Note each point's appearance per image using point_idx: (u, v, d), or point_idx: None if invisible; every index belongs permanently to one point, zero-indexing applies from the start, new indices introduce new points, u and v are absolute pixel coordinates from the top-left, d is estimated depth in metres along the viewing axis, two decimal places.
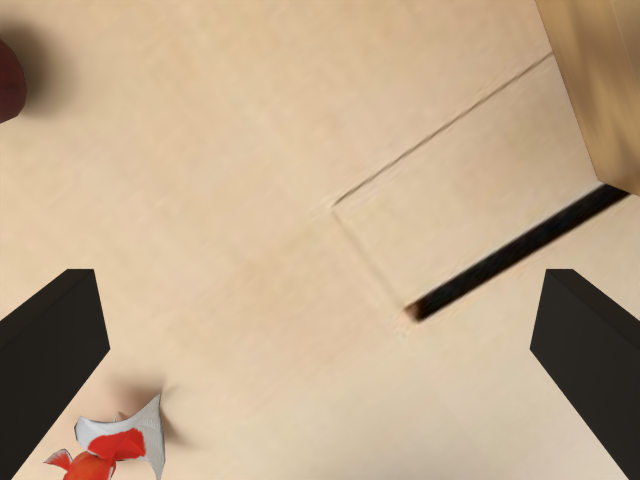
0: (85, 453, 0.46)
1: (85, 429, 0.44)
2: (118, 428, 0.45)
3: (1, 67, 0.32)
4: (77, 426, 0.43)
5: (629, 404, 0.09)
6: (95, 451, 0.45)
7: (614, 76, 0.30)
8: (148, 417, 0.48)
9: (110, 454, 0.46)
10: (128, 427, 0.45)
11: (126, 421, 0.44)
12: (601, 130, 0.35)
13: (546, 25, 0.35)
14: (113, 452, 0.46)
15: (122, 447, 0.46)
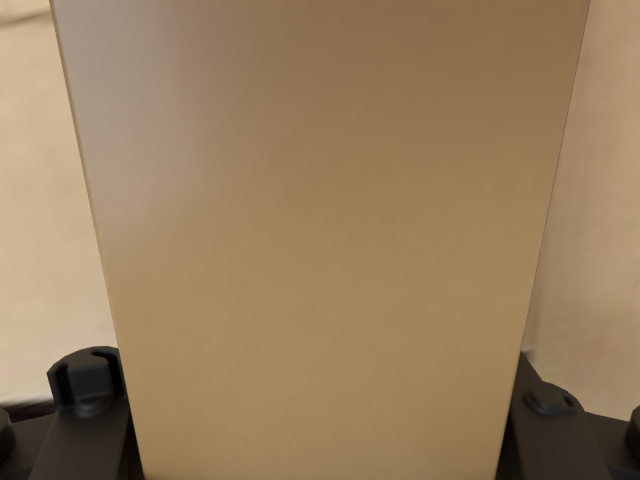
0: None
1: None
2: None
3: None
4: None
5: None
6: None
7: None
8: None
9: None
10: None
11: None
12: None
13: None
14: None
15: None
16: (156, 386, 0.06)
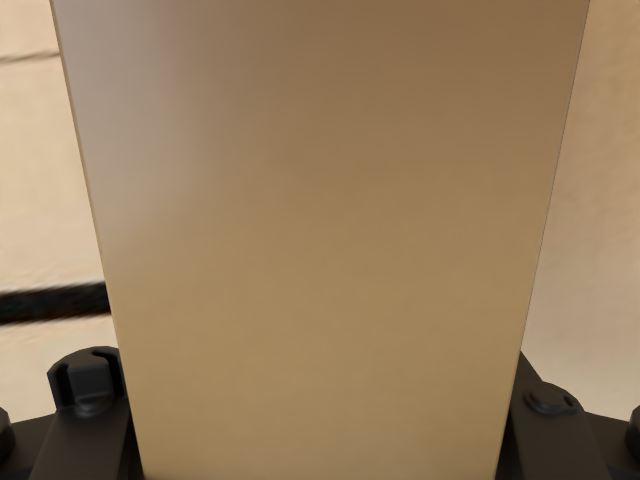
0: None
1: None
2: None
3: None
4: None
5: None
6: None
7: None
8: None
9: None
10: None
11: None
12: None
13: None
14: None
15: None
16: (156, 385, 0.06)
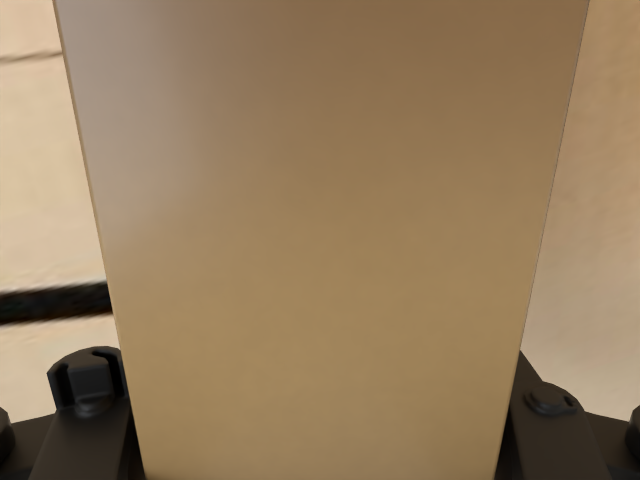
0: None
1: None
2: None
3: None
4: None
5: None
6: None
7: None
8: None
9: None
10: None
11: None
12: None
13: None
14: None
15: None
16: (157, 384, 0.06)
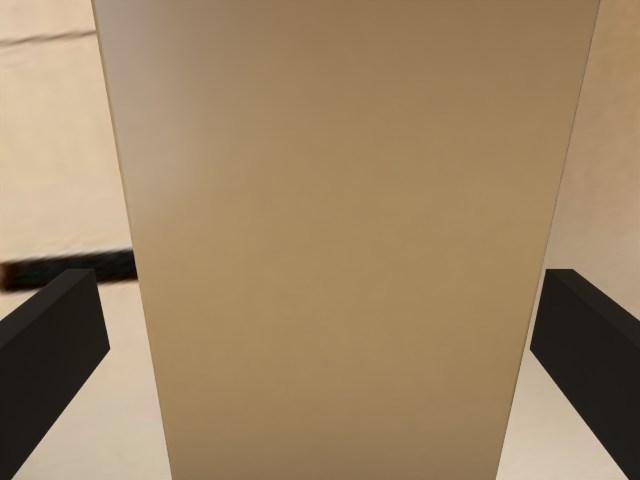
0: None
1: None
2: None
3: None
4: None
5: (629, 404, 0.09)
6: None
7: None
8: None
9: None
10: None
11: None
12: None
13: None
14: None
15: None
16: (172, 301, 0.06)
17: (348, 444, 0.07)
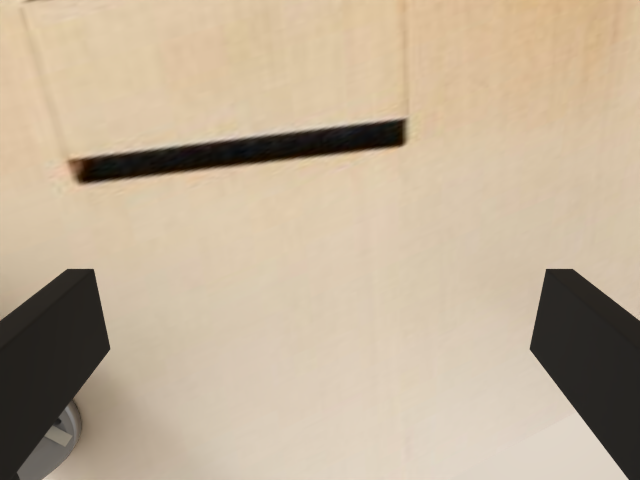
0: None
1: None
2: None
3: None
4: None
5: (629, 404, 0.09)
6: None
7: None
8: None
9: None
10: None
11: None
12: None
13: None
14: None
15: None
16: None
17: None
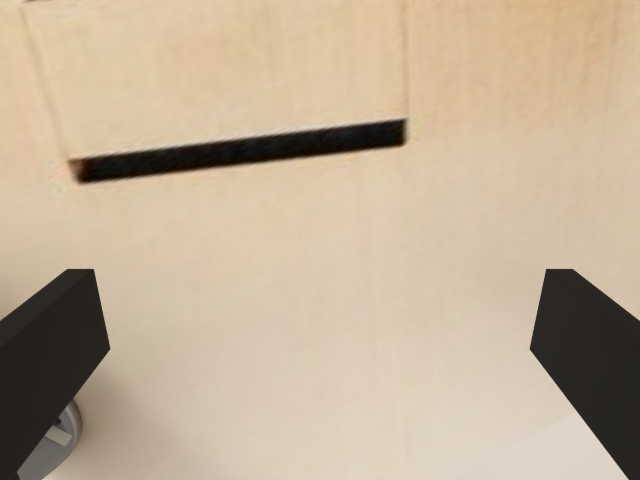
0: None
1: None
2: None
3: None
4: None
5: (629, 404, 0.09)
6: None
7: None
8: None
9: None
10: None
11: None
12: None
13: None
14: None
15: None
16: None
17: None
